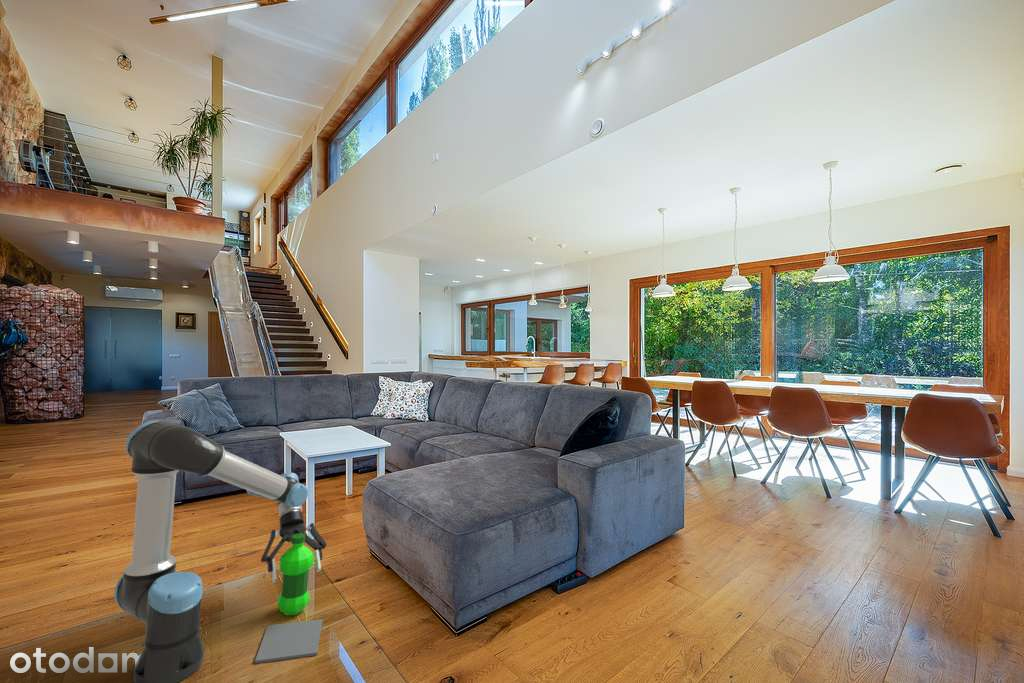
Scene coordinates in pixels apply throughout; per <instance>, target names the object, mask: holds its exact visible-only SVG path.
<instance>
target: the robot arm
mask: <svg viewBox="0 0 1024 683" xmlns="http://www.w3.org/2000/svg"><path fill="white" fill-rule="evenodd" d="M125 449H126V452H127V455H129V457H131V461H132V463H131V473H132V474H133V475H134V476H135V477H137V486H136V487H137V489H136V500H135V502H136V503H135V513H134V514H135V515H134V528H133V540H132V550H131V551H132V552H131V553H132V555H131V561H130V563H128V564H127V565H126V566H125V567H124V569H123V574H122V577H121V578H118V581H117V582H116V583H115V584H116V585H115V587H114V592H113V593H114V600H115V602H116V603H117V605H118V606H119V608H121V610H123V611H124V612H126V613H128V614H129V615H131V616H133V617H135V618H136V619H137V620H140V621H141V622H143V623H144V624H145V636H144V638H145V639H144V646H143V649H142V651H141V653H140V656H139V657H138V660H137V662H136V664H135V666H134V670H133V677H132V679H133V680H132V681H133V683H180V682H182V681H184V680H185V679H187V678H189V677H190V676H191V675H194V673H196V672H197V671H198V670H199V668H200V667H201V666H202V665H203V662H204V661H205V659H204V658H205V647H204V644H203V640H202V638H201V635H200V630H199V629H200V620H201V619H200V618H201V609H202V608H201V606H202V597H203V589H204V588H203V580H202V578H201V577H200V575H198V574H197V573H194V572H191V571H186V572H185V571H182V570H181V571H176V568H177V558H176V556H173V555H172V554H171V548H172V535H173V534H172V533H173V523H174V522H173V521H174V520H173V519H174V508H175V496H176V495H175V494H176V482H177V473H179V472H185V473H189V474H191V475H192V474H193V475H195V476H198V477H207V476H210V477H212V478H215V479H218V480H220V481H223V482H224V483H228V484H230V485H233V486H236V487H238V488H241V489H243V490H245V491H246V493H247V494H248V495H252V496H254V497H260V498H264V499H267V500H270V501H273V502H276V503H277V506H278V516H279V530H275V529H272V530H271V533H270V534H269V541H268V543H267V545H266V547H265V549H264V552H263V554H262V556H261V558H260V563H261V562H262V563H264V562H265V563H266V564H267V572H268V573H271V581H272V584H274V583H276V581H277V578H278V577H277V569H276V568H277V567H276V566H277V565H276V558H274V557H276V555H277V554H278V553H279V551H280V550H281V548H282V547H283V546H284V545H285V543H286V542H287V543H291V538H292V536H293V535H294V534H298V533H303V534H305V542H304V543H305V544H306V545H307V546H309V547H310V548H312V549H313V550H314V560H315V568H316V569H315V570H316V573H319V572H320V571H321V569H322V564H321V561H322V560H323V551H322V550H325V549H326V548H327V542H326V541H325V539H324V538H323V537H322V535H321V534H320V533H319V531H318V530H317V529H316V527H315V523H314V522H312V523H310V524H307V525H305V521H304V514H303V504H304V503H305V502H306V500H308V496H309V488H308V487H307V486H306V485H305V484H304V483H303V484H302V483H300V481H299V476H298V474H296V473H295V472H285V473H281V474H278V473H277V472H274V471H271V470H270V469H268V468H264V467H262V466H260V465H259V464H256V463H253V462H251V461H250V460H249V461H248V460H247V459H245V458H242V457H241V456H238V455H236V454H234V453H231V452H230V451H227V450H225V447H224V446H223V444H221V443H219V442H216V441H214V440H213V439H211V438H210V437H207V436H205V435H204V434H202V433H200V432H198V431H197V430H195V429H193V428H192V427H189V426H185V425H180V424H176V423H172V422H171V421H166V420H165V421H164V420H151V421H148V422H147V421H146V422H144V423H143V424H142V423H141V424H140V425H138V426H137V427H136V428H134V429H133V430H132V431H131V432H130V434H129V435H128V436H127V439H126V442H125ZM306 531H307V532H309V534H310V535H311V536H312V537H313V538H311V537H310V536H309V535H308V533H307V532H306ZM278 536H279V537H281V539H280V541H279V542H278V544H277V545H276V546H275V548H274V549H273V550H272V552H271V553H270V554H269V552H270V549H271V548H272V545H273V542H274V540H275V539H276V538H277V537H278ZM268 554H269V556H268Z"/></svg>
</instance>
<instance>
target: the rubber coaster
mask: <svg viewBox="0 0 1024 683" xmlns="http://www.w3.org/2000/svg"><path fill="white" fill-rule="evenodd" d="M323 621H324V620H323V618H322V619H313V620H303V621H296V622H286V623H280V624H279V623H278V624H271V625H267V627H266V629H265V631H264V635H263V638H262V640H261V643H260V645H259V649H258V651H257V653H256V656H255V658H254V659H255V660H254V664H262V663H269V662H276V661H283V660H284V661H285V660H291V659H292V660H293V659H298V658H305V657H306V658H307V657H312V656H313V657H314V656H318V650H319V645H320V639H321V632H322V627H323V623H324V622H323ZM322 622H323V623H322Z"/></svg>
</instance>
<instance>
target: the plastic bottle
mask: <svg viewBox="0 0 1024 683" xmlns="http://www.w3.org/2000/svg"><path fill="white" fill-rule="evenodd" d="M290 543H291V544H292V545H291V547H289V548H288V549H287V550H286V551H285V552H284V553H283V554H282V555H281V556H280V557H279V568H280V572H281V573H282V580H281V582H282V583H281V592H280V594H279V595H278V597H277V608H278V611H280V613H282V614H284V615H285V614H287V615H286V616H288V615H292V616H295V615H297V614H300V613H301V612H302V611H303V610H304V609H305V608H306V607H307V606H308V604H309V602H310V600H311V599H310V597H311V596H310V592H309V590H308V586H309V585H308V583H309V573H310V572H309V570H310V569H311V568H312V566H314V565H313V564H314V560H315V556H314V555H313V552H312V549H310V548H309V547H307V546H306V545H304V543H305V534H303V533H298V534H294V535H293V536H292V538H291V542H290Z"/></svg>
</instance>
